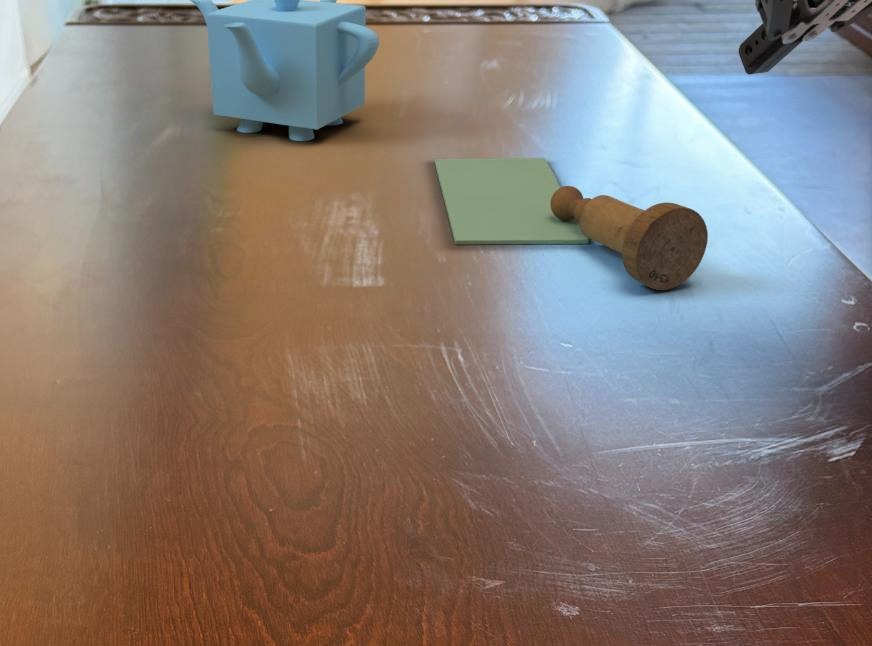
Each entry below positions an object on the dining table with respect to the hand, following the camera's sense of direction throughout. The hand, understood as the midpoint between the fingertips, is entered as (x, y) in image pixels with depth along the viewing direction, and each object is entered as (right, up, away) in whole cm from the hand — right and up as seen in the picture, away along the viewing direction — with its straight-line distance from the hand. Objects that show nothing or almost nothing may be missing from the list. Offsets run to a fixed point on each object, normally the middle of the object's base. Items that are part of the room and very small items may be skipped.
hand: (750, 61), depth 70 cm
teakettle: (-34, +17, +55) cm, 67 cm away
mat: (-11, +1, +33) cm, 35 cm away
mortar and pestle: (-1, -9, +13) cm, 16 cm away
